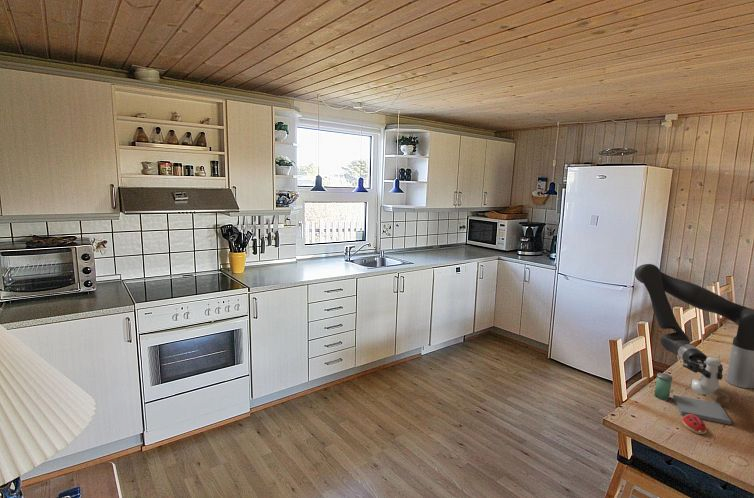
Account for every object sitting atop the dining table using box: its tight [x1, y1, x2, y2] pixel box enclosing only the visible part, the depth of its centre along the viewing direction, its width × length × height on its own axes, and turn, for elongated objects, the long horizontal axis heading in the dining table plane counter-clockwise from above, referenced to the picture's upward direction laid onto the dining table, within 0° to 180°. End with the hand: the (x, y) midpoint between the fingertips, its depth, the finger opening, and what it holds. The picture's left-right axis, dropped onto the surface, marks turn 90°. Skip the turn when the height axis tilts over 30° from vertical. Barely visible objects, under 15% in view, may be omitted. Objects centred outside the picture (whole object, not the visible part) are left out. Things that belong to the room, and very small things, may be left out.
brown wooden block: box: [705, 389, 730, 407], centre depth 166 cm, size 5×5×4 cm
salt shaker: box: [699, 356, 721, 393], centre depth 157 cm, size 6×6×13 cm
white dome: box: [690, 378, 707, 397], centre depth 174 cm, size 7×7×4 cm
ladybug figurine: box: [681, 414, 708, 435], centre depth 149 cm, size 7×10×4 cm
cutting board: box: [672, 394, 732, 426], centre depth 160 cm, size 15×13×2 cm
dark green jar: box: [653, 372, 673, 401], centre depth 169 cm, size 5×5×9 cm
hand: (714, 376), depth 154 cm, fingers closed on salt shaker, 3 cm apart
